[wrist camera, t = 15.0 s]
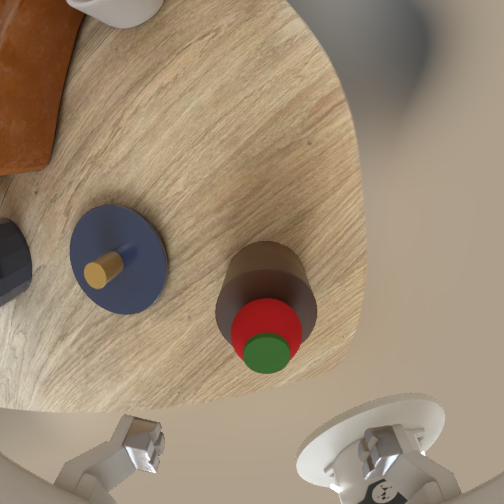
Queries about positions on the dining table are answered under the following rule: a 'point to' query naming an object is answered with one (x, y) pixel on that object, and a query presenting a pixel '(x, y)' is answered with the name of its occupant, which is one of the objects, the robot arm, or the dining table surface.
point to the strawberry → (266, 335)
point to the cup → (119, 11)
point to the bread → (32, 78)
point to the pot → (13, 262)
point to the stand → (265, 285)
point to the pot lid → (118, 259)
